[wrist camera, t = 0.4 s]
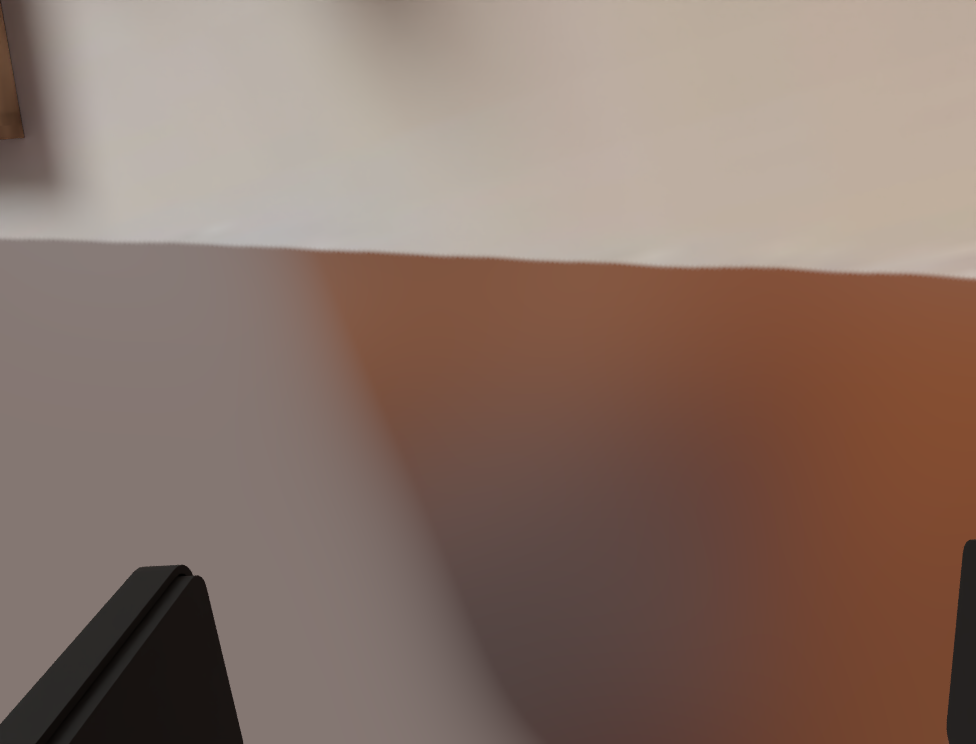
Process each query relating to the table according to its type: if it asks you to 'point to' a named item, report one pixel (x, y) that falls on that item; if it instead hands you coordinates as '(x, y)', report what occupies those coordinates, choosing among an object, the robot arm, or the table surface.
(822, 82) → the table surface
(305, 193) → the table surface
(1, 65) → the tray
